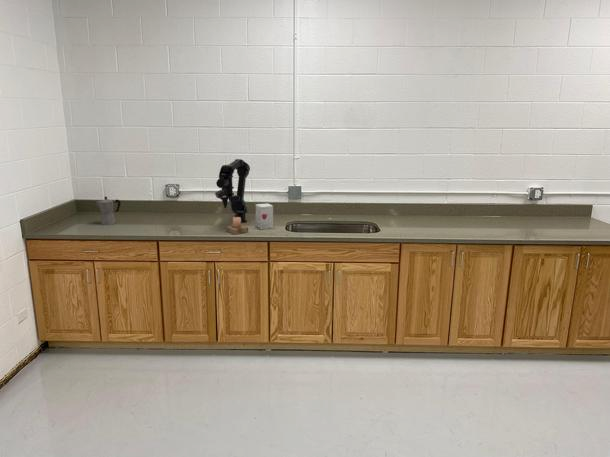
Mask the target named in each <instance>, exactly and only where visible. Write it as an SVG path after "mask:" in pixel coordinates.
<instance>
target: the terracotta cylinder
mask: <svg viewBox="0 0 610 457" xmlns="http://www.w3.org/2000/svg"><path fill="white" fill-rule="evenodd" d="M241 225H242V222H241V217H235V216H233V217H232V226H233V228H241Z"/></svg>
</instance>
